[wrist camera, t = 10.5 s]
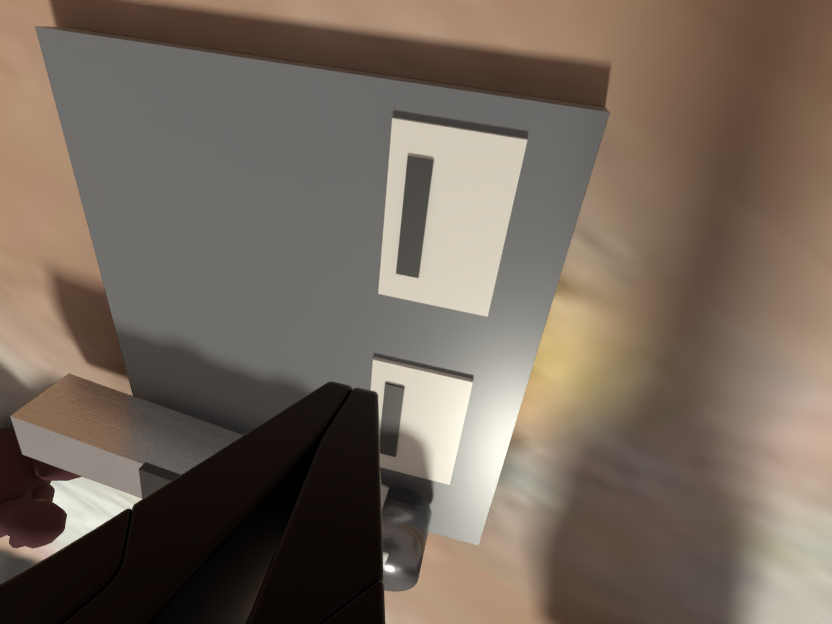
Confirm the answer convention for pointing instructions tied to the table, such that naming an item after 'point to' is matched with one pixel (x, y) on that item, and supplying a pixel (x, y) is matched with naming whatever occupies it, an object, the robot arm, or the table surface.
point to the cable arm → (175, 457)
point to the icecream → (28, 496)
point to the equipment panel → (326, 242)
